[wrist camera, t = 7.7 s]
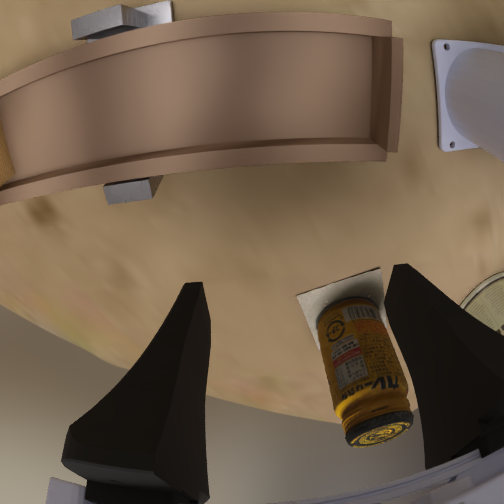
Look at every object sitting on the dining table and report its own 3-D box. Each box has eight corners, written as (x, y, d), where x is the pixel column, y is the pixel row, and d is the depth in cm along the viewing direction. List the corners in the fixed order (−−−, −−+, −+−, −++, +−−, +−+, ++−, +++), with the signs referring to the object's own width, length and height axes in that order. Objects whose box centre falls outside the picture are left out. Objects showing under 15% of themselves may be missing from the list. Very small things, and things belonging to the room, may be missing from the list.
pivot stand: (172, 2, 13) (149, -14, 9) (192, 166, 19) (180, 204, 15) (90, 23, 13) (46, 21, 9) (118, 176, 19) (89, 216, 15)
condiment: (318, 348, 31) (342, 458, 21) (296, 294, 26) (324, 430, 16) (386, 325, 30) (426, 430, 20) (379, 265, 25) (438, 390, 15)
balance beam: (363, 20, 12) (402, 15, 8) (361, 143, 16) (394, 174, 12) (-39, 104, 12) (-81, 126, 8) (-13, 194, 16) (-48, 227, 12)
